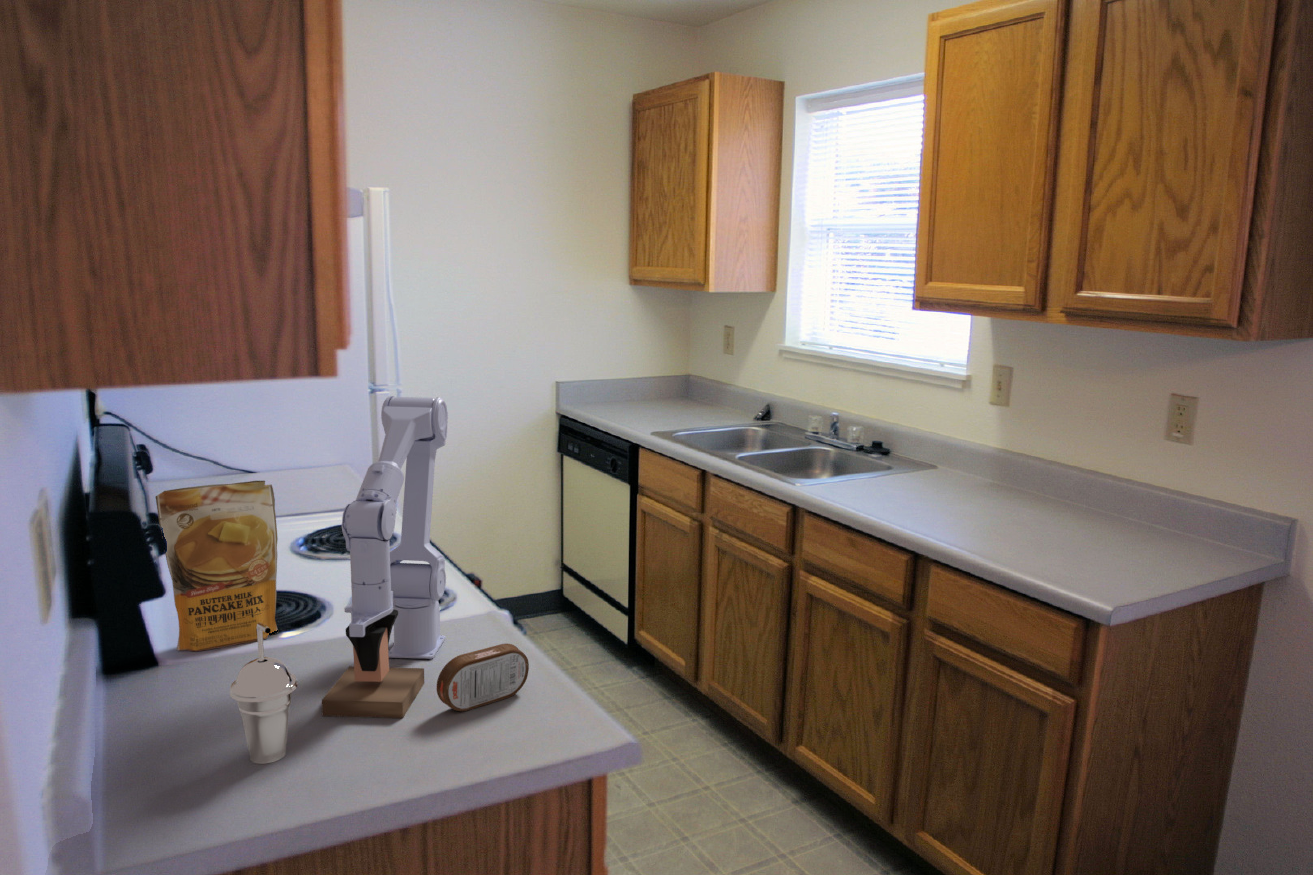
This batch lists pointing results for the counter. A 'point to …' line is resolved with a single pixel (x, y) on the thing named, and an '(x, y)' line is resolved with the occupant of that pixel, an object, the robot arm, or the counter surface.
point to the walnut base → (374, 694)
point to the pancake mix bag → (221, 561)
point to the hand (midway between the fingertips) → (374, 663)
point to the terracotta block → (381, 668)
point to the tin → (482, 677)
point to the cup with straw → (264, 703)
